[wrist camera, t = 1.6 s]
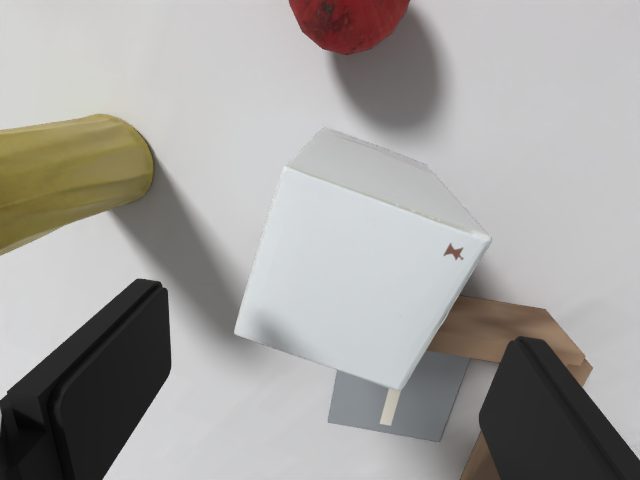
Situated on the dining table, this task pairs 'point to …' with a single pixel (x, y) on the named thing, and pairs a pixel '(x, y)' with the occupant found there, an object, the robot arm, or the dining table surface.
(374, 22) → the red oval fruit
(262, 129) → the dining table surface
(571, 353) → the corner arena
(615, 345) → the dining table surface
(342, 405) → the pad
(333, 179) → the supplement box
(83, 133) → the vase
